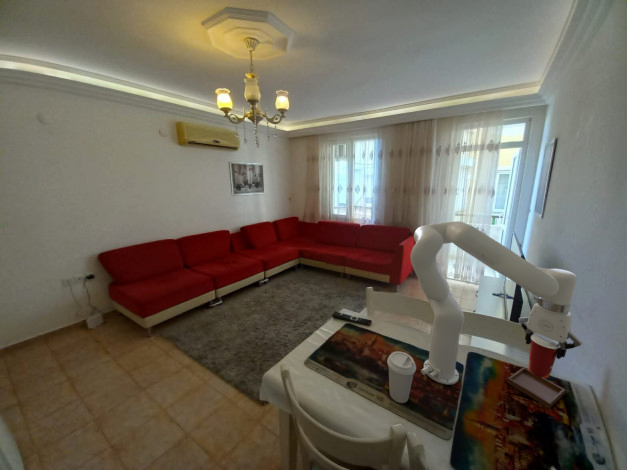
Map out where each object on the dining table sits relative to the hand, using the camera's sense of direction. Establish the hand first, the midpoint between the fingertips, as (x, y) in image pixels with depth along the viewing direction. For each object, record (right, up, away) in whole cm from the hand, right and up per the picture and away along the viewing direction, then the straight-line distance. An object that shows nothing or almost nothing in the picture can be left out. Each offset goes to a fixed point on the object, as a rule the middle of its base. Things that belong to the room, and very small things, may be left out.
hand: (543, 349), depth 84 cm
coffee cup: (-51, -17, +1) cm, 54 cm away
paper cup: (0, -9, +2) cm, 10 cm away
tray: (0, -16, +3) cm, 16 cm away
